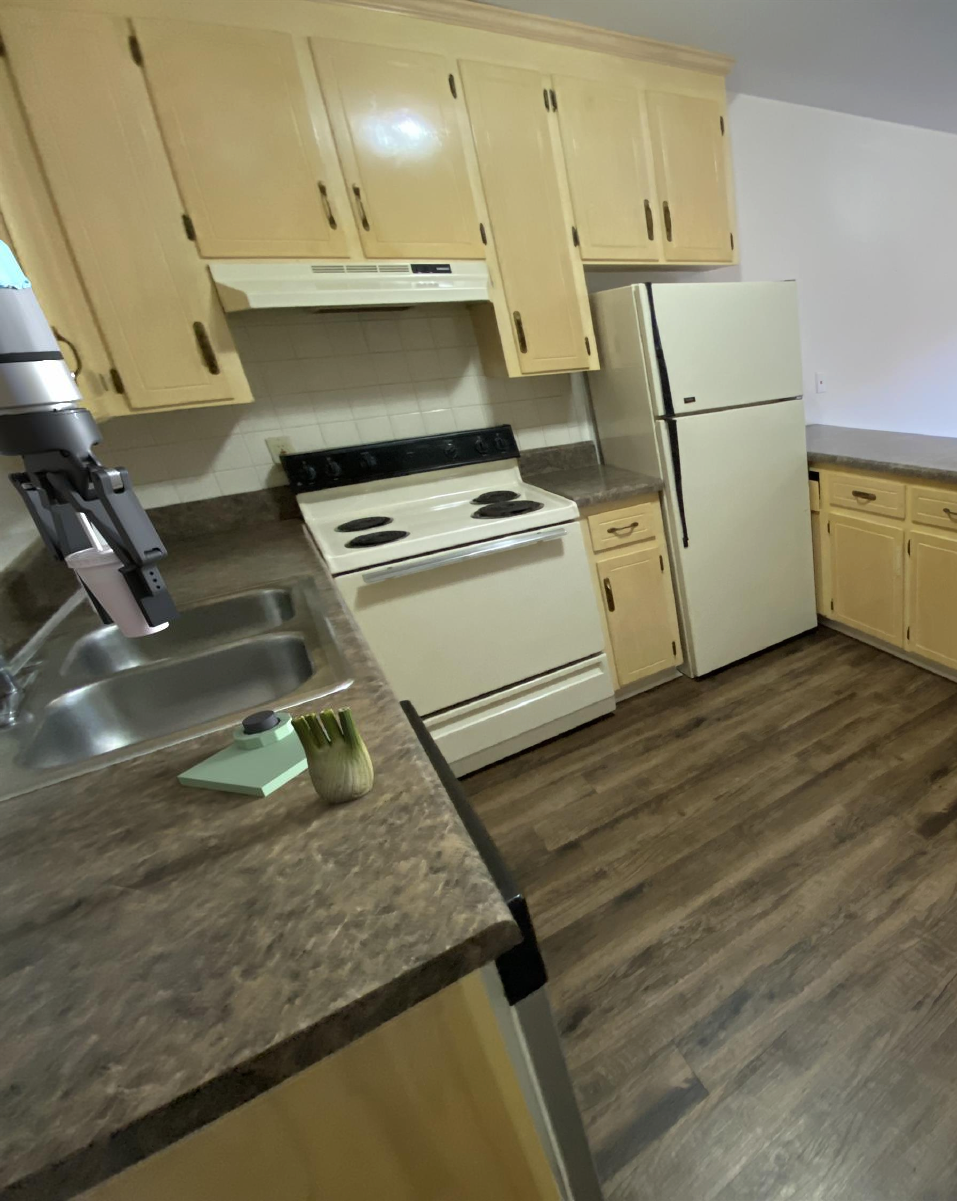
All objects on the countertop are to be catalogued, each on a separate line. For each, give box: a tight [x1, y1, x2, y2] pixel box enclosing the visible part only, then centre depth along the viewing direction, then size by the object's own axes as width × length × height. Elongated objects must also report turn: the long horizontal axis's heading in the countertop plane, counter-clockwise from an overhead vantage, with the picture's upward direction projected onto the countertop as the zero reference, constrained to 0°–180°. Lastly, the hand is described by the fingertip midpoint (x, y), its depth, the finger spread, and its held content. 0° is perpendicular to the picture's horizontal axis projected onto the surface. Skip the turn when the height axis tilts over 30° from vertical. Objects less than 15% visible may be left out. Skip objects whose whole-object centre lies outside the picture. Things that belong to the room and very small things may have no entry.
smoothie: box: [65, 512, 170, 639], centre depth 71 cm, size 6×6×14 cm
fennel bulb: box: [291, 706, 375, 805], centre depth 77 cm, size 6×5×12 cm
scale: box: [176, 712, 343, 798], centre depth 87 cm, size 14×13×3 cm
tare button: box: [241, 709, 279, 735], centre depth 90 cm, size 4×4×2 cm
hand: (142, 620), depth 73 cm, fingers closed on smoothie, 6 cm apart
